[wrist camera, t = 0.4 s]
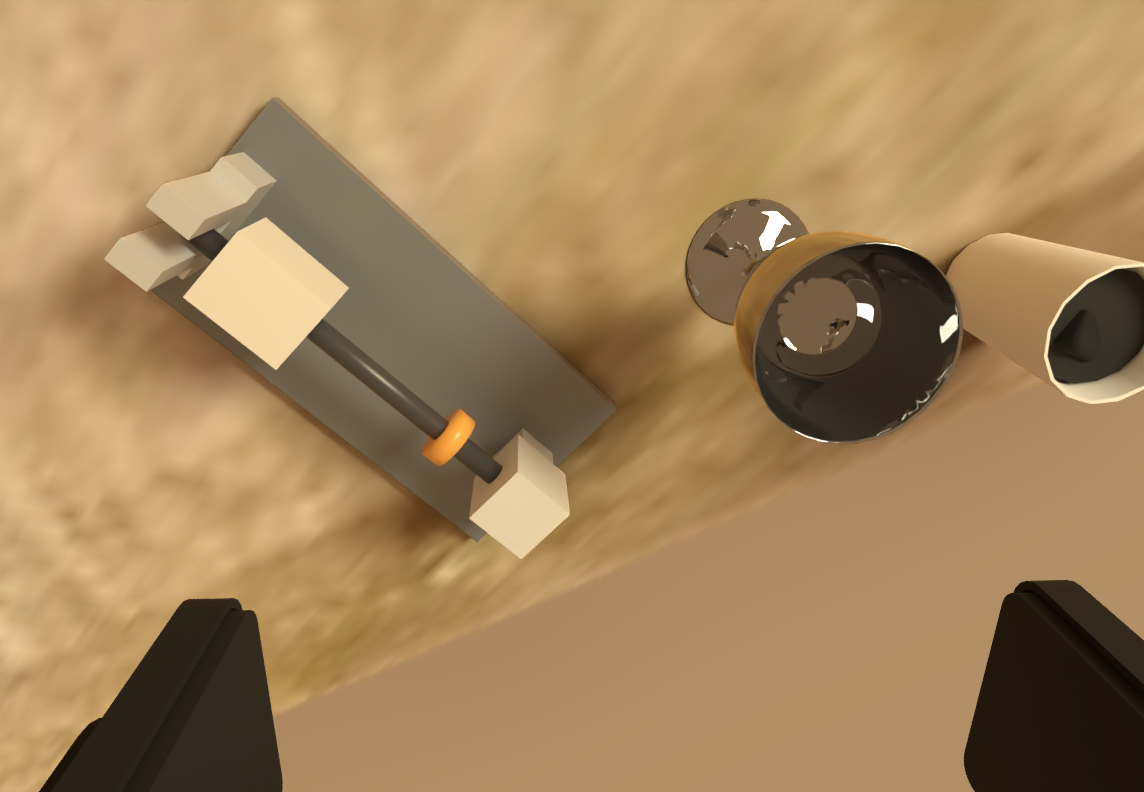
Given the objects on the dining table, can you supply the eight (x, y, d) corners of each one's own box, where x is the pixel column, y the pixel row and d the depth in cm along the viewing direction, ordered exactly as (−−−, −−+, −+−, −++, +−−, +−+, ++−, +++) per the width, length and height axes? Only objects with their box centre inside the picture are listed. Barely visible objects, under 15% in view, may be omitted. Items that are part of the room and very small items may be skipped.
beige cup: (998, 357, 46) (1119, 426, 36) (910, 307, 44) (1013, 365, 35) (1073, 259, 44) (1221, 305, 34) (985, 203, 42) (1114, 235, 33)
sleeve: (216, 276, 38) (182, 297, 34) (265, 217, 37) (237, 231, 33) (299, 343, 39) (276, 370, 36) (349, 287, 38) (330, 309, 35)
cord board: (139, 270, 41) (41, 317, 33) (278, 97, 38) (209, 100, 30) (477, 533, 48) (468, 626, 40) (614, 403, 45) (635, 474, 37)
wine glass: (849, 241, 43) (1007, 315, 29) (761, 357, 45) (869, 478, 31) (736, 161, 41) (847, 199, 27) (650, 286, 43) (711, 382, 29)
